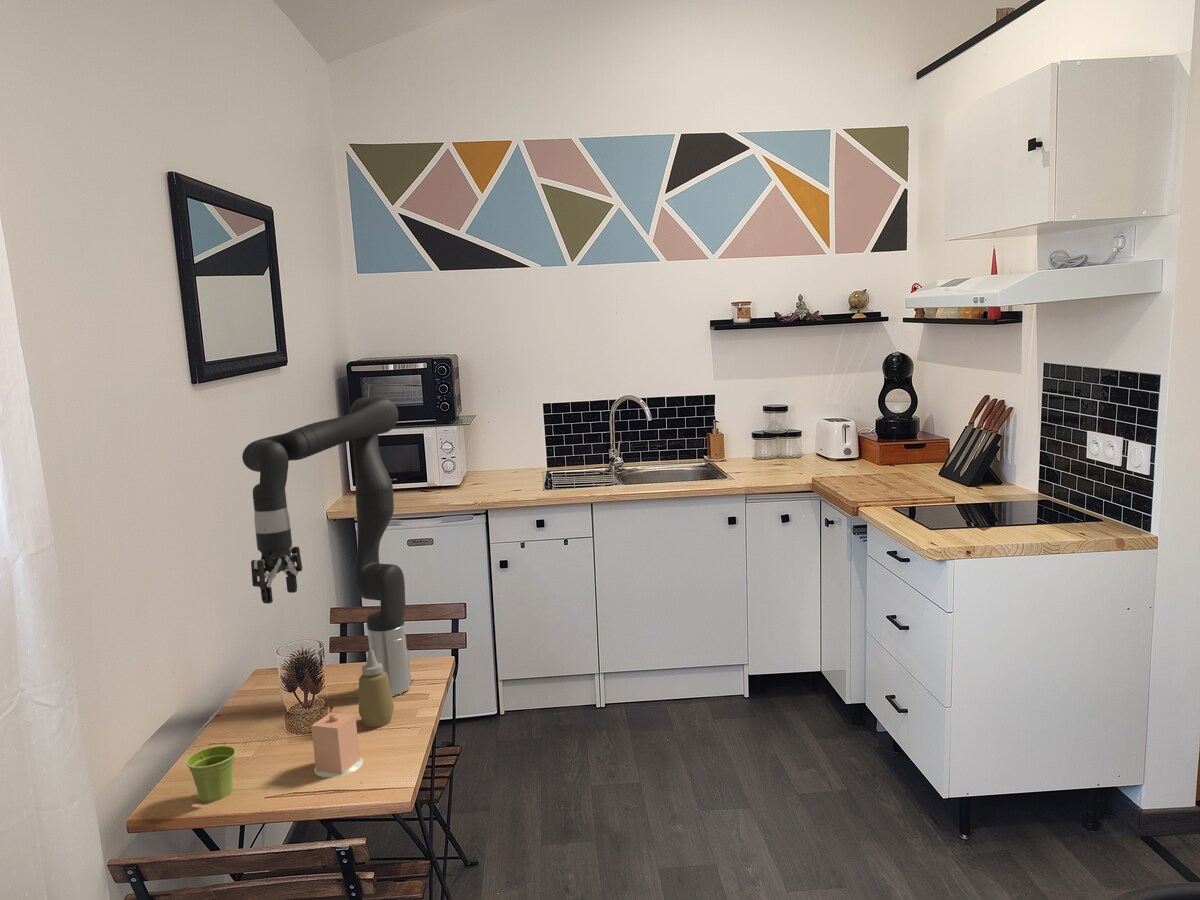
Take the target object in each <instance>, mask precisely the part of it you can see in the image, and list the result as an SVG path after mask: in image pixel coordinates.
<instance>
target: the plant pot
mask: <svg viewBox="0 0 1200 900" xmlns="http://www.w3.org/2000/svg"><path fill="white" fill-rule="evenodd" d="M236 754H237V749H236V748H235V747H234V746H231V745H224V744H223V745H215V746H210V747H206V748H203V749H201V750H198V751H195V752H194V753H192V754H191V755H189V756H188V757H187V758H186V759H185V765H186V766H187V767H188V769H189V771H190V773H191V775H192V778H193V781H194V784H195V787H196V791H197V795H198V798H199V799H200V801H201V802H207V803H208V802H210V803H211V802H216V801H220V800H223V799H224V798H225V799H226V798H227V797H229V795H231V794H232V792H233V790H234V789H233V788H234V787H233V785H234V782H233V781H234V779H233V778H234V776H233V775H234V762H235V757H236Z"/></svg>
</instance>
